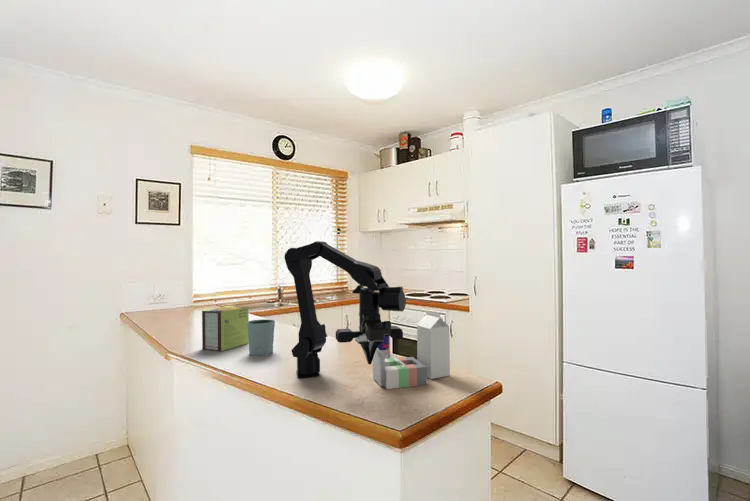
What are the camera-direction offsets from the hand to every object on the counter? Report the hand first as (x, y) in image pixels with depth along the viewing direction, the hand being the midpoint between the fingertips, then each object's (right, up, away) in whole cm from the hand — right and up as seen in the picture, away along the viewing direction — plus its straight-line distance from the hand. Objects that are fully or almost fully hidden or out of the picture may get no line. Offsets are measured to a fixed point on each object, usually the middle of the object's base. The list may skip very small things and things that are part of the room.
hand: (369, 364), depth 111 cm
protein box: (-59, -7, +48) cm, 76 cm away
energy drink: (+4, -6, +19) cm, 20 cm away
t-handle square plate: (+7, -5, +2) cm, 9 cm away
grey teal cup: (-42, -7, +36) cm, 55 cm away
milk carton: (+19, -6, +8) cm, 22 cm away
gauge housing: (+9, -6, +3) cm, 11 cm away
